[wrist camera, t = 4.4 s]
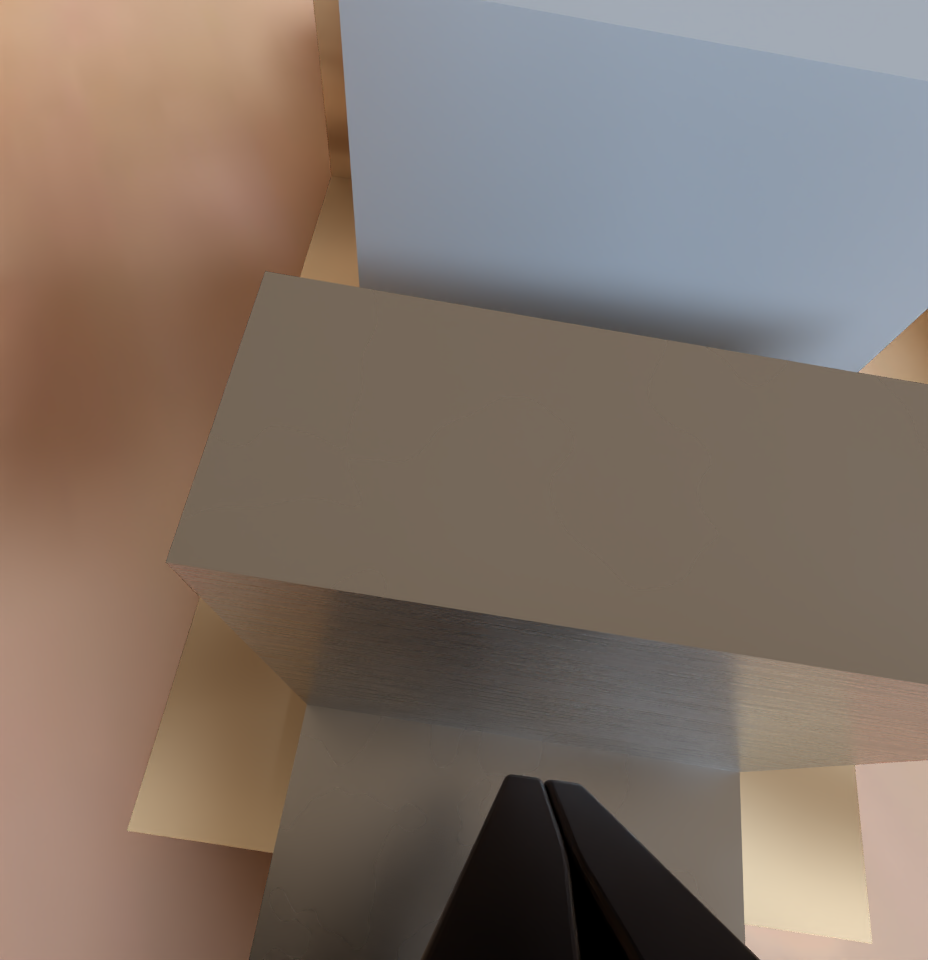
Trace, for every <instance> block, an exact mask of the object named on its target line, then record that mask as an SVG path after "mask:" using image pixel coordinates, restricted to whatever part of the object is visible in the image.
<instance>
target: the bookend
mask: <svg viewBox="0 0 928 960" xmlns="http://www.w3.org/2000/svg"><path fill="white" fill-rule="evenodd" d="M166 563H167V564H168V565H169V566H170V567H171V568H172V569H173V570H174V571H175V572H176V573H177V574H178V575H179V576H180V577H181V578H182V579H183V580H184V581H185V582H186V583H187V584H188V585H189V586H190V587H191V588H192V589H193V590H194V591H195V592H196V593H197V594H198V595H199V596H200V597H201V598H202V599H203V600H204V601H205V602H206V603H207V604H208V605H209V606H210V607H211V608H212V609H213V610H214V611H215V612H216V613H217V614H218V615H219V616H220V617H221V619H222V620H223V621H224V622H225V623H226V624H227V625H228V626H229V627H230V628H231V629H232V630H233V631H234V632H235V633H236V634H237V635H238V636H239V637H240V638H241V639H242V640H243V641H244V642H245V643H246V644H247V645H248V646H249V647H250V648H251V649H252V650H253V651H254V652H255V653H256V654H257V655H258V656H259V657H260V658H261V659H262V660H263V661H264V662H265V663H266V664H267V665H268V666H269V667H270V668H271V669H272V670H273V671H274V672H275V673H276V674H277V675H278V676H279V677H280V678H281V679H282V680H283V681H284V682H285V683H286V684H287V685H288V686H289V687H290V688H291V689H292V690H293V691H294V692H295V693H296V694H297V695H298V696H299V697H300V698H301V699H302V700H303V701H304V702H305V703H306V704H307V707H306V711H305V715H304V720H303V724H302V729H301V733H300V737H299V742H298V746H297V751H296V755H295V759H294V764H293V768H292V772H291V777H290V781H289V786H288V790H287V794H286V799H285V803H284V808H283V812H282V816H281V821H280V825H279V830H278V834H277V838H276V843H275V847H274V852H273V856H272V860H271V865H270V869H269V873H268V878H267V882H266V887H265V891H264V895H263V900H262V904H261V909H260V913H259V917H258V922H257V926H256V931H255V935H254V939H253V944H252V948H251V953H250V957H249V960H421V957H422V955H423V953H424V951H425V949H426V947H427V944H428V942H429V940H430V938H431V936H432V934H433V931H434V929H435V927H436V925H437V923H438V921H439V919H440V916H441V914H442V912H443V910H444V908H445V906H446V903H447V901H448V899H449V897H450V895H451V893H452V890H453V888H454V886H455V884H456V882H457V880H458V878H459V875H460V873H461V871H462V869H463V867H464V865H465V862H466V860H467V858H468V856H469V854H470V852H471V849H472V847H473V845H474V843H475V841H476V839H477V836H478V834H479V832H480V830H481V828H482V826H483V823H484V821H485V819H486V817H487V815H488V813H489V811H490V808H491V806H492V804H493V802H494V800H495V798H496V795H497V793H498V791H499V789H500V787H501V785H502V782H503V780H504V778H505V777H506V776H507V775H509V774H514V775H521V776H529V777H536V778H539V779H541V780H542V781H543V783H544V782H545V781H547V780H559V781H566V782H574V783H578V784H580V785H582V786H583V787H584V788H586V789H587V790H588V791H589V792H590V793H591V794H592V795H593V796H594V797H595V798H596V799H597V800H598V801H599V802H600V803H601V804H602V805H603V806H604V807H605V808H606V809H607V810H608V811H609V812H610V813H611V814H612V815H613V816H614V817H615V818H616V819H617V820H618V821H619V822H620V823H621V824H622V825H623V826H624V827H625V828H626V829H627V830H628V831H629V832H630V833H631V834H632V835H633V836H634V837H635V838H636V839H637V840H639V841H640V842H641V843H642V844H643V845H644V846H645V847H646V848H647V849H648V850H649V851H650V852H651V853H652V854H653V855H654V856H655V857H656V858H657V859H658V860H659V861H660V862H661V863H662V864H663V865H664V866H665V867H666V868H667V869H668V870H669V871H670V872H671V873H672V874H673V875H674V876H675V877H676V878H677V879H678V880H679V881H680V882H681V883H682V884H683V885H684V886H685V887H686V888H687V889H688V890H689V891H690V892H691V893H693V894H694V895H695V896H696V897H697V898H698V899H699V900H700V901H701V902H702V903H703V904H704V905H705V906H706V907H707V908H708V909H709V910H710V911H711V912H712V913H713V914H714V915H715V916H716V917H717V918H718V919H719V920H720V921H721V922H722V923H723V924H724V925H725V926H726V927H727V928H728V929H729V930H730V931H731V932H732V933H733V934H734V935H735V936H736V937H737V938H738V939H739V940H740V941H741V942H742V943H743V944H744V945H745V925H744V893H743V862H742V830H741V798H740V772H751V771H767V770H782V769H798V768H813V767H828V766H844V765H859V764H875V763H890V762H906V761H921V760H928V384H922V383H917V382H911V381H905V380H899V379H893V378H887V377H881V376H876V375H870V374H864V373H858V372H852V371H846V370H840V369H835V368H829V367H823V366H817V365H811V364H805V363H799V362H794V361H788V360H782V359H776V358H770V357H764V356H758V355H753V354H747V353H741V352H735V351H729V350H723V349H717V348H712V347H706V346H700V345H694V344H688V343H682V342H677V341H671V340H665V339H659V338H653V337H647V336H641V335H636V334H630V333H624V332H618V331H612V330H606V329H600V328H595V327H589V326H583V325H577V324H571V323H565V322H559V321H554V320H548V319H542V318H536V317H530V316H524V315H518V314H513V313H507V312H501V311H495V310H489V309H483V308H477V307H472V306H466V305H460V304H454V303H448V302H442V301H436V300H431V299H425V298H419V297H413V296H407V295H401V294H395V293H390V292H384V291H378V290H372V289H366V288H360V287H355V286H349V285H343V284H337V283H331V282H325V281H319V280H314V279H308V278H302V277H296V276H290V275H284V274H278V273H273V272H267V271H265V273H264V276H263V279H262V282H261V285H260V288H259V291H258V294H257V297H256V300H255V303H254V306H253V309H252V311H251V314H250V317H249V320H248V323H247V326H246V329H245V332H244V335H243V338H242V341H241V344H240V347H239V350H238V352H237V355H236V358H235V361H234V364H233V367H232V370H231V373H230V376H229V379H228V382H227V385H226V388H225V390H224V393H223V396H222V399H221V402H220V405H219V408H218V411H217V414H216V417H215V420H214V423H213V426H212V428H211V431H210V434H209V437H208V440H207V443H206V446H205V449H204V452H203V455H202V458H201V461H200V464H199V466H198V469H197V472H196V475H195V478H194V481H193V484H192V487H191V490H190V493H189V496H188V499H187V502H186V504H185V507H184V510H183V513H182V516H181V519H180V522H179V525H178V528H177V531H176V534H175V537H174V540H173V543H172V545H171V548H170V551H169V554H168V557H167V560H166Z"/></svg>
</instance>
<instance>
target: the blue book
mask: <svg viewBox="0 0 928 960" xmlns="http://www.w3.org/2000/svg"><path fill="white" fill-rule="evenodd" d="M339 13H340V26H341V40H342V54H343V68H344V81H345V95H346V109H347V123H348V136H349V150H350V164H351V178H352V191H353V205H354V219H355V233H356V246H357V260H358V274H359V287H360V288H366V289H372V290H378V291H384V292H390V293H395V294H401V295H407V296H413V297H419V298H425V299H431V300H436V301H442V302H448V303H454V304H460V305H466V306H472V307H477V308H483V309H489V310H495V311H501V312H507V313H513V314H518V315H524V316H530V317H536V318H542V319H548V320H554V321H559V322H565V323H571V324H577V325H583V326H589V327H595V328H600V329H606V330H612V331H618V332H624V333H630V334H636V335H641V336H647V337H653V338H659V339H665V340H671V341H677V342H682V343H688V344H694V345H700V346H706V347H712V348H717V349H723V350H729V351H735V352H741V353H747V354H753V355H758V356H764V357H770V358H776V359H782V360H788V361H794V362H799V363H805V364H811V365H817V366H823V367H829V368H835V369H840V370H846V371H852V372H859V371H860V370H861V369H862V368H863V367H864V366H865V365H866V364H868V363H869V362H870V361H871V360H872V359H873V358H874V357H875V356H876V355H877V354H879V353H880V352H881V351H882V350H883V349H884V348H885V347H886V346H887V345H888V344H889V343H891V342H892V341H893V340H894V339H895V338H896V337H897V336H898V335H899V334H900V333H901V332H903V331H904V330H905V329H906V328H907V327H908V326H909V325H910V324H911V323H912V322H913V321H915V320H916V319H917V318H918V317H919V316H920V315H921V314H922V313H923V312H924V311H926V310H927V309H928V0H339Z"/></svg>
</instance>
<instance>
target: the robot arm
mask: <svg viewBox="0 0 928 960" xmlns="http://www.w3.org/2000/svg"><path fill="white" fill-rule="evenodd" d="M421 960H760V959H759V958H758V957H757V956H756V955H755V954H754V953H753V952H752V951H751V950H750V949H749V948H748V947H747V946H745V945H744V944H743V943H742V942H741V941H740V940H739V939H738V938H737V937H736V936H735V935H734V934H733V933H732V932H731V931H730V930H729V929H728V928H727V927H726V926H725V925H724V924H723V923H722V922H721V921H720V920H719V919H718V918H717V917H716V916H715V915H714V914H713V913H712V912H711V911H710V910H709V909H708V908H707V907H706V906H705V905H704V904H703V903H702V902H701V901H700V900H699V899H698V898H697V897H696V896H695V895H694V894H693V893H691V892H690V891H689V890H688V889H687V888H686V887H685V886H684V885H683V884H682V883H681V882H680V881H679V880H678V879H677V878H676V877H675V876H674V875H673V874H672V873H671V872H670V871H669V870H668V869H667V868H666V867H665V866H664V865H663V864H662V863H661V862H660V861H659V860H658V859H657V858H656V857H655V856H654V855H653V854H652V853H651V852H650V851H649V850H648V849H647V848H646V847H645V846H644V845H643V844H642V843H641V842H640V841H639V840H637V839H636V838H635V837H634V836H633V835H632V834H631V833H630V832H629V831H628V830H627V829H626V828H625V827H624V826H623V825H622V824H621V823H620V822H619V821H618V820H617V819H616V818H615V817H614V816H613V815H612V814H611V813H610V812H609V811H608V810H607V809H606V808H605V807H604V806H603V805H602V804H601V803H600V802H599V801H598V800H597V799H596V798H595V797H594V796H593V795H592V794H591V793H590V792H589V791H588V790H587V789H586V788H584V787H583V786H582V785H580V784H578V783H574V782H566V781H559V780H547V781H545V782H544V783H543V781H542V780H541V779H539V778H536V777H529V776H521V775H514V774H509V775H507V776H506V777H505V778H504V780H503V782H502V785H501V787H500V789H499V791H498V793H497V795H496V798H495V800H494V802H493V804H492V806H491V808H490V811H489V813H488V815H487V817H486V819H485V821H484V823H483V826H482V828H481V830H480V832H479V834H478V836H477V839H476V841H475V843H474V845H473V847H472V849H471V852H470V854H469V856H468V858H467V860H466V862H465V865H464V867H463V869H462V871H461V873H460V875H459V878H458V880H457V882H456V884H455V886H454V888H453V890H452V893H451V895H450V897H449V899H448V901H447V903H446V906H445V908H444V910H443V912H442V914H441V916H440V919H439V921H438V923H437V925H436V927H435V929H434V931H433V934H432V936H431V938H430V940H429V942H428V944H427V947H426V949H425V951H424V953H423V955H422V957H421Z"/></svg>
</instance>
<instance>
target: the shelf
mask: <svg viewBox="0 0 928 960" xmlns="http://www.w3.org/2000/svg"><path fill="white" fill-rule="evenodd" d="M313 4H314V13H315V23H316V32H317V42H318V51H319V61H320V71H321V80H322V90H323V99H324V109H325V118H326V128H327V137H328V147H329V156H330V166H331V179H330V182H329V185H328V188H327V191H326V195H325V198H324V201H323V204H322V207H321V211H320V214H319V217H318V220H317V223H316V227H315V230H314V233H313V236H312V239H311V243H310V246H309V249H308V252H307V255H306V259H305V262H304V265H303V268H302V272H301V275H300V277H302V278H308V279H314V280H319V281H325V282H331V283H337V284H343V285H349V286H355V287H359V274H358V260H357V246H356V233H355V219H354V205H353V191H352V178H351V164H350V150H349V136H348V123H347V109H346V95H345V81H344V68H343V54H342V40H341V26H340V13H339V0H313ZM306 707H307V704H306V703H305V702H304V701H303V700H302V699H301V698H300V697H299V696H298V695H297V694H296V693H295V692H294V691H293V690H292V689H291V688H290V687H289V686H288V685H287V684H286V683H285V682H284V681H283V680H282V679H281V678H280V677H279V676H278V675H277V674H276V673H275V672H274V671H273V670H272V669H271V668H270V667H269V666H268V665H267V664H266V663H265V662H264V661H263V660H262V659H261V658H260V657H259V656H258V655H257V654H256V653H255V652H254V651H253V650H252V649H251V648H250V647H249V646H248V645H247V644H246V643H245V642H244V641H243V640H242V639H241V638H240V637H239V636H238V635H237V634H236V633H235V632H234V631H233V630H232V629H231V628H230V627H229V626H228V625H227V624H226V623H225V622H224V621H223V620H222V619H221V617H220V616H219V615H218V614H217V613H216V612H215V611H214V610H213V609H212V608H211V607H210V606H209V605H208V604H207V603H206V602H205V601H204V600H203V599H202V598H201V597H200V598H199V601H198V604H197V608H196V611H195V614H194V617H193V620H192V624H191V627H190V630H189V633H188V636H187V640H186V643H185V646H184V649H183V652H182V656H181V659H180V662H179V665H178V668H177V672H176V675H175V678H174V681H173V684H172V688H171V691H170V694H169V697H168V700H167V704H166V707H165V710H164V713H163V716H162V720H161V723H160V726H159V729H158V732H157V736H156V739H155V742H154V745H153V748H152V752H151V755H150V758H149V761H148V764H147V768H146V771H145V774H144V777H143V780H142V784H141V787H140V790H139V793H138V796H137V800H136V803H135V806H134V809H133V812H132V816H131V819H130V822H129V825H128V828H127V831H131V832H137V833H144V834H150V835H157V836H164V837H170V838H177V839H183V840H190V841H197V842H203V843H210V844H216V845H223V846H230V847H236V848H243V849H249V850H256V851H263V852H269V853H273V852H274V847H275V843H276V838H277V834H278V830H279V825H280V821H281V816H282V812H283V808H284V803H285V799H286V794H287V790H288V786H289V781H290V777H291V772H292V768H293V764H294V759H295V755H296V751H297V746H298V742H299V737H300V733H301V729H302V724H303V720H304V715H305V711H306ZM740 798H741V830H742V862H743V893H744V924H745V925H752V926H758V927H765V928H771V929H778V930H785V931H791V932H798V933H804V934H811V935H818V936H824V937H831V938H837V939H844V940H851V941H857V942H864V943H870V944H872V936H871V926H870V916H869V905H868V895H867V885H866V875H865V865H864V855H863V844H862V834H861V824H860V814H859V804H858V794H857V784H856V773H855V765H844V766H828V767H813V768H798V769H782V770H767V771H751V772H740Z"/></svg>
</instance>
